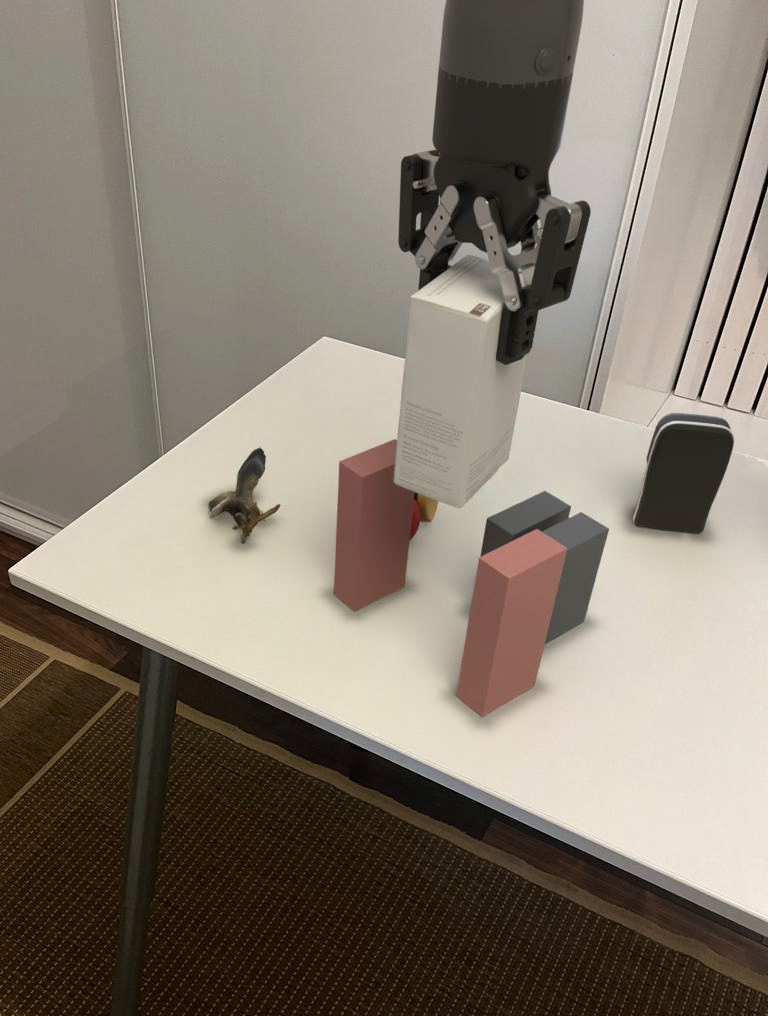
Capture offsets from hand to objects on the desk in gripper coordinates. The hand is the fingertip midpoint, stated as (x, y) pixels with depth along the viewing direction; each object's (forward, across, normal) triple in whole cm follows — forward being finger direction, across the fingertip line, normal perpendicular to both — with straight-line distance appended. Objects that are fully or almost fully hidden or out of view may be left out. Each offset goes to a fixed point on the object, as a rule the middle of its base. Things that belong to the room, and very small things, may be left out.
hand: (470, 339), depth 66 cm
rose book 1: (+27, +8, 0) cm, 28 cm away
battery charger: (+27, -1, -31) cm, 41 cm away
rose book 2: (+27, -8, 0) cm, 28 cm away
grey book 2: (+27, -5, -9) cm, 29 cm away
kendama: (+27, +16, -11) cm, 33 cm away
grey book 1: (+27, -1, -9) cm, 28 cm away
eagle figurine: (+27, +24, +3) cm, 37 cm away
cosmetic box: (+11, 0, 0) cm, 11 cm away
